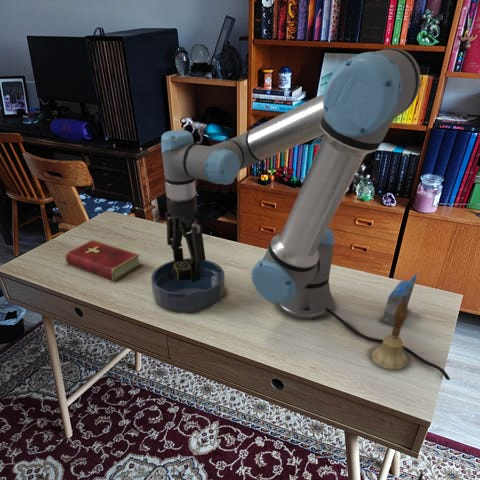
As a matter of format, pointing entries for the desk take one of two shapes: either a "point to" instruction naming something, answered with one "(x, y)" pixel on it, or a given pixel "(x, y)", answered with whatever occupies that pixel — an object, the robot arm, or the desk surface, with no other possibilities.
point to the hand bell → (393, 344)
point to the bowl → (188, 288)
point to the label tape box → (398, 298)
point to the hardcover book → (103, 259)
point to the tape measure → (182, 270)
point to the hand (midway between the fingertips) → (187, 275)
